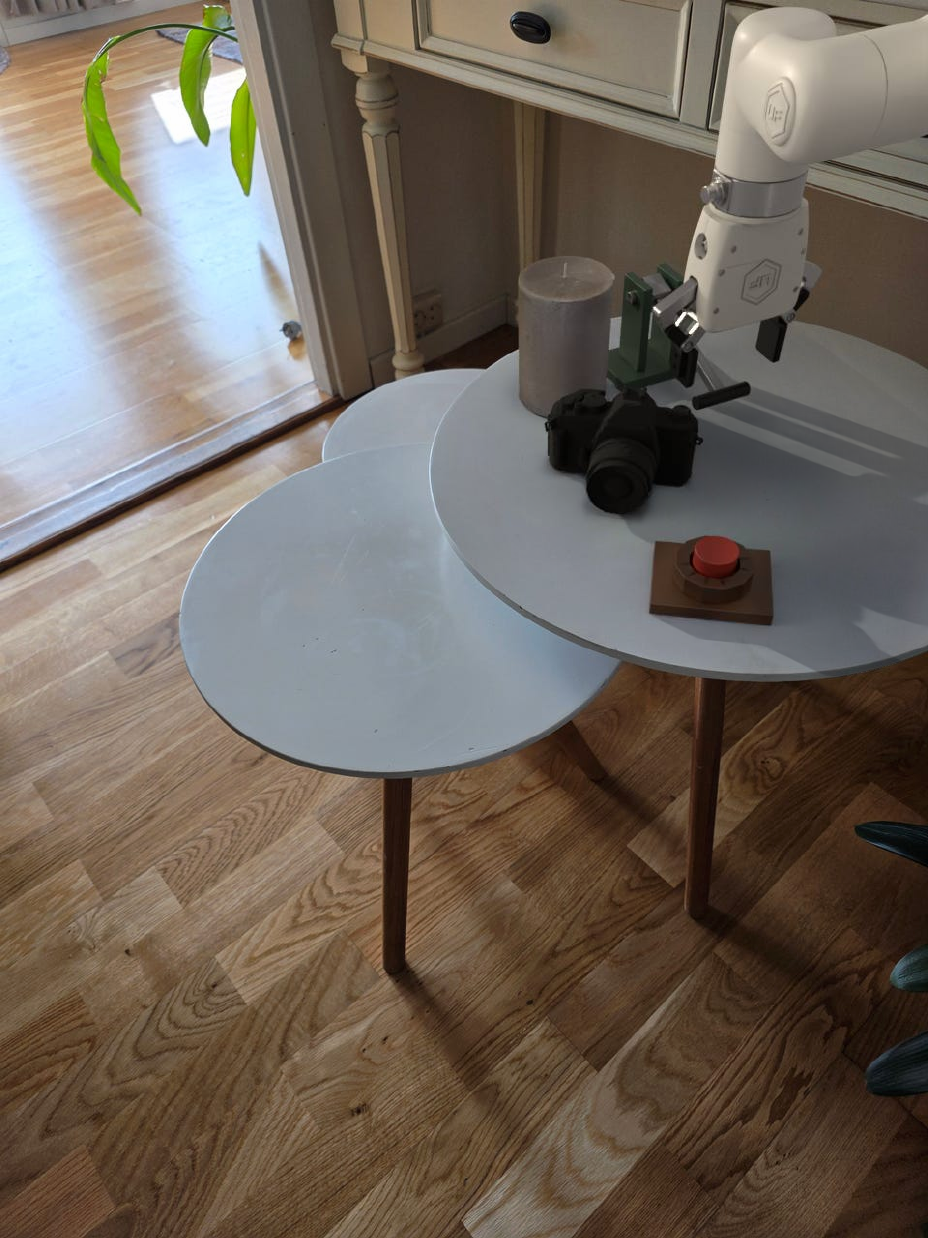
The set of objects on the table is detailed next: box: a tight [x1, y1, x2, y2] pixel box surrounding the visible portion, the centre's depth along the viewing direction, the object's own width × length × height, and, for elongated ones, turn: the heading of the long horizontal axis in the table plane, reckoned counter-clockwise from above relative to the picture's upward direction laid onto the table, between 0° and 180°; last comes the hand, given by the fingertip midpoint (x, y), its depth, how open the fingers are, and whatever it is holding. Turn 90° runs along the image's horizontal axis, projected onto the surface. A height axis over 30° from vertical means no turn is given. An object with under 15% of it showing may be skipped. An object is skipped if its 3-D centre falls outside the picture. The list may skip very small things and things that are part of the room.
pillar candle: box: [517, 255, 616, 418], centre depth 92 cm, size 10×10×15 cm
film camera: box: [544, 385, 705, 516], centre depth 83 cm, size 15×10×9 cm, turn 73°
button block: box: [648, 534, 775, 626], centre depth 75 cm, size 10×8×3 cm
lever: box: [640, 272, 752, 411], centre depth 91 cm, size 17×6×2 cm, turn 22°
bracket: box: [607, 262, 685, 393], centre depth 96 cm, size 7×10×11 cm
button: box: [693, 535, 739, 579], centre depth 73 cm, size 4×4×2 cm
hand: (724, 367), depth 86 cm, fingers open, 9 cm apart
